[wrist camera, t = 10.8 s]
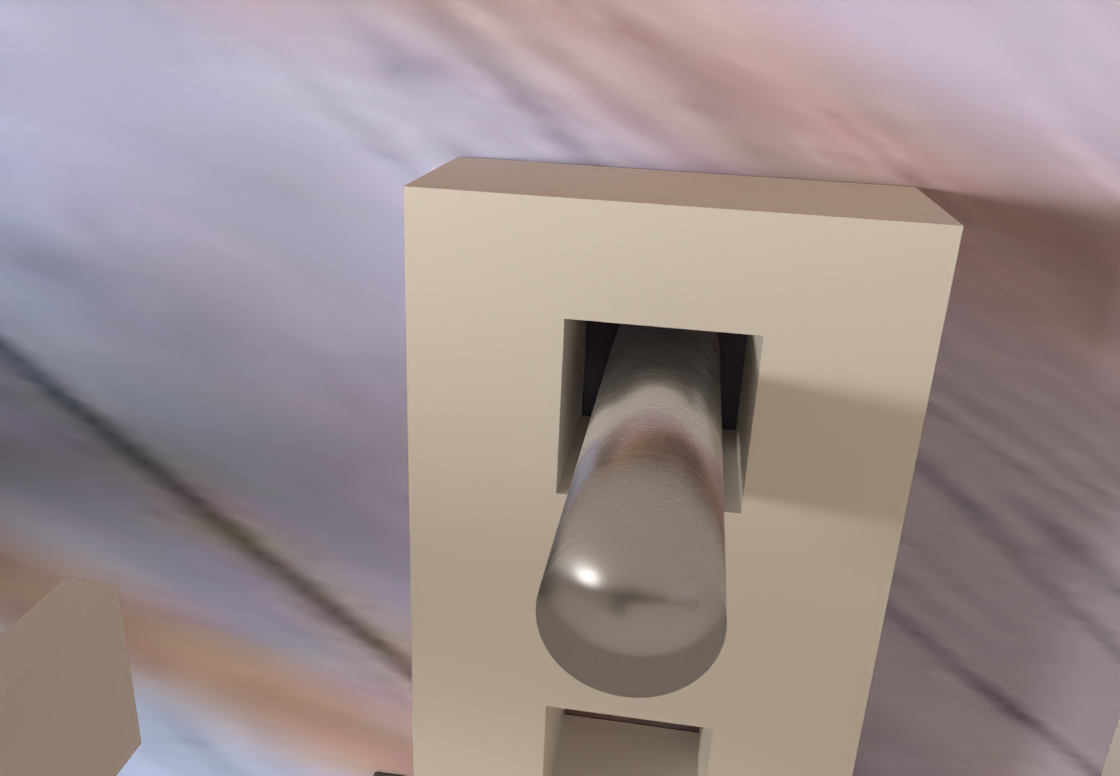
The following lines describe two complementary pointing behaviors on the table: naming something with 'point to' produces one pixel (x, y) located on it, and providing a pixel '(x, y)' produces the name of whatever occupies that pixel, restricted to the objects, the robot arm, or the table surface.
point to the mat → (382, 775)
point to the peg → (643, 523)
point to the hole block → (748, 453)
